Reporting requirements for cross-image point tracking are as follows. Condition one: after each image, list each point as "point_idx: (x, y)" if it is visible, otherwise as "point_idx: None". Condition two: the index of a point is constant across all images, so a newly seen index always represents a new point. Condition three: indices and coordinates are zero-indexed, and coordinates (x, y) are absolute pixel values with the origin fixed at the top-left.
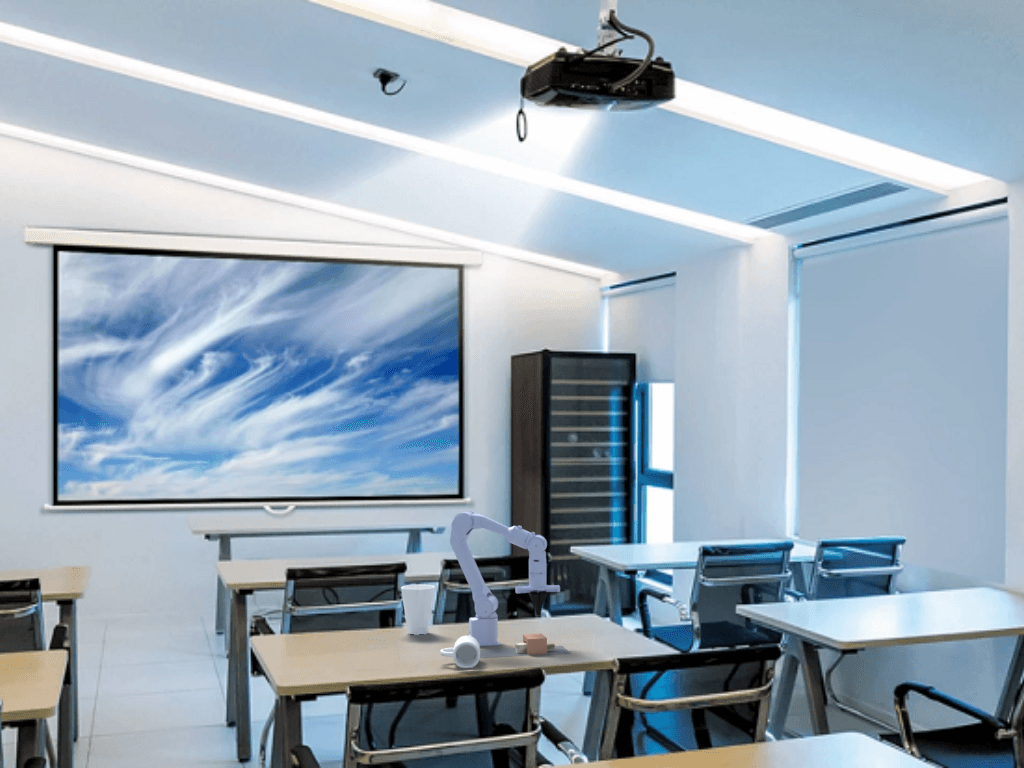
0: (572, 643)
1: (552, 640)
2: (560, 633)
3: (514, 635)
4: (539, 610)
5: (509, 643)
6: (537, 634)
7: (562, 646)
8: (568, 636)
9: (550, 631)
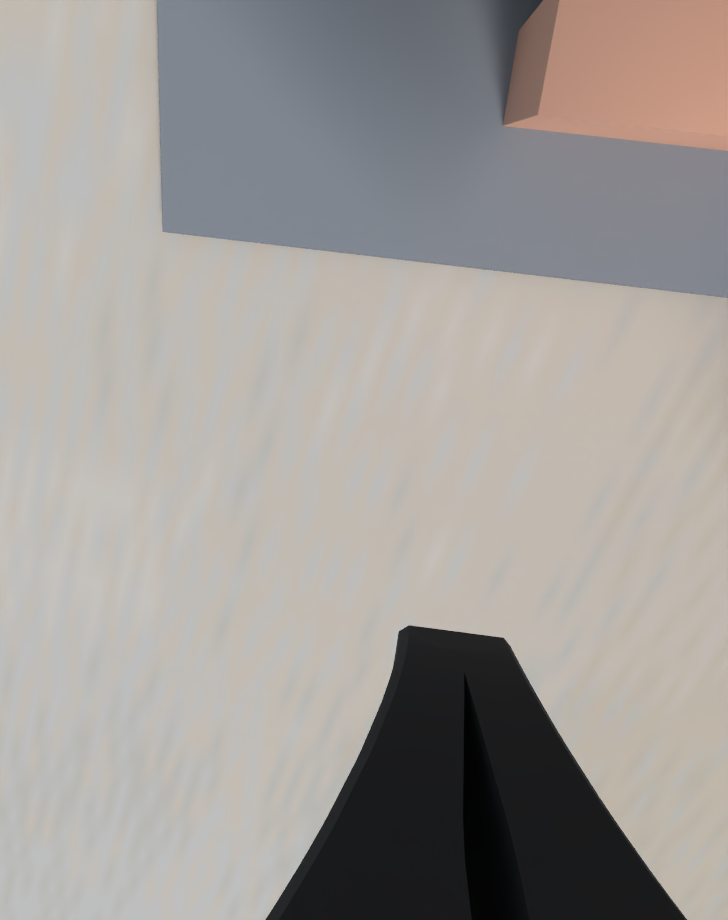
0: (5, 391)
1: (195, 603)
2: (58, 820)
3: None
4: (450, 699)
5: (690, 625)
6: (670, 11)
7: (169, 170)
8: (3, 703)
9: (128, 899)
